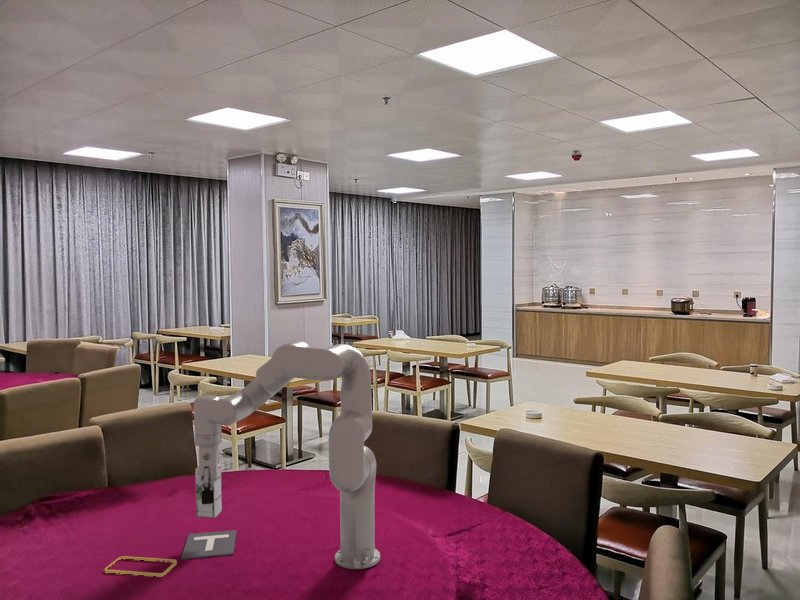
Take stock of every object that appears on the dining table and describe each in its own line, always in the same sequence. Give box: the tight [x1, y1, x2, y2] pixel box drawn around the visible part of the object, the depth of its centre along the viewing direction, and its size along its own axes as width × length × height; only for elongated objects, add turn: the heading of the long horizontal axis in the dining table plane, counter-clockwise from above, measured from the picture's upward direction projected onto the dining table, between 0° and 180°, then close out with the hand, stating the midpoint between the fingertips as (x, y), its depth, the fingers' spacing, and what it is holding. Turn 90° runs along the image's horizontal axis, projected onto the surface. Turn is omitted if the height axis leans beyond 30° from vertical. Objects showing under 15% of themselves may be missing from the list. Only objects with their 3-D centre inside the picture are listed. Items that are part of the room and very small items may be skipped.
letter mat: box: [180, 529, 237, 560], centre depth 184 cm, size 16×14×1 cm
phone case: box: [104, 555, 178, 578], centre depth 171 cm, size 8×17×1 cm, turn 82°
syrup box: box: [194, 463, 223, 519], centre depth 184 cm, size 6×6×14 cm
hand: (209, 498), depth 184 cm, fingers closed on syrup box, 7 cm apart
